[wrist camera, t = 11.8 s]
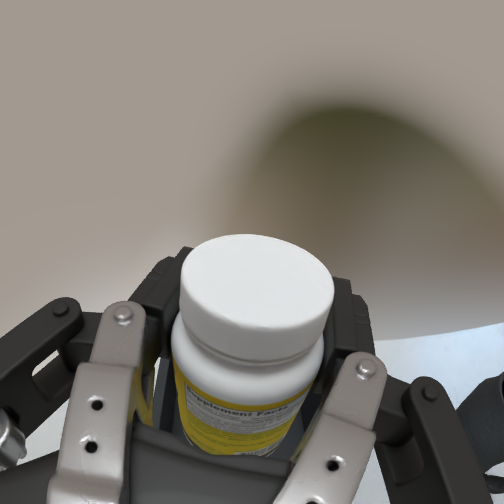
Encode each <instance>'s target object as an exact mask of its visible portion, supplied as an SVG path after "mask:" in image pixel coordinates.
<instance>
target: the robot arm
mask: <svg viewBox="0 0 504 504" xmlns="http://www.w3.org/2000/svg"><path fill="white" fill-rule="evenodd" d="M193 249H195V248H190V247H183V248H182V249H181V250H180V252H179V253H178V254H177V256H176V257H175V258H174V257H167V258H165V259H163V260H161V261H159V262H158V263H157V264H156V265H155V267H154V268H153V269H152V271H151V272H150V273H149V274H148V275H147V276H146V279H144V280H143V281H142V283H141V284H140V285H139V287H138V288H137V289H136V290H135V292H134V293H133V294H132V296H131V297H130V298H129V299H128V301H120V302H116V303H113V304H111V305H110V306H108V307H107V308H106V309H105V311H104V312H103V313H95V312H82V310H81V307H80V304H79V303H78V302H77V301H76V300H75V299H73V298H69V297H62V298H58V299H55V300H53V301H51V302H50V303H48V304H47V305H45V306H44V307H43V308H41V309H40V310H38V311H37V312H35V313H34V314H33V315H31V316H30V317H28V318H27V319H26V320H24V321H23V322H22V323H20V324H19V325H17V326H16V327H15V328H14V329H12V330H11V331H9V332H8V333H7V334H5V335H4V336H3V337H1V338H0V504H351V503H352V501H353V499H354V496H355V494H356V492H357V489H358V487H359V484H360V482H361V479H362V477H363V474H364V471H365V469H366V466H367V463H368V461H369V458H370V455H371V452H372V449H373V446H374V449H375V452H376V455H377V459H378V462H379V465H380V469H381V472H382V475H383V479H384V482H385V486H386V489H387V493H388V496H389V500H390V504H493V501H492V498H491V495H490V492H489V489H488V487H487V484H486V481H485V478H484V476H483V473H482V470H481V468H480V465H479V463H478V460H477V458H476V455H475V453H474V451H473V448H472V446H471V444H470V441H469V439H468V437H467V435H466V432H465V430H464V428H463V426H462V423H461V421H460V419H459V417H458V415H457V413H456V411H455V409H454V407H453V405H452V403H451V401H450V399H449V397H448V395H447V393H446V391H445V389H444V387H443V386H442V385H441V384H440V383H439V382H438V381H437V380H435V379H433V378H431V377H425V376H423V377H418V378H416V379H415V380H414V381H413V382H412V383H411V384H409V383H406V382H403V381H401V380H398V379H396V378H394V377H391V376H390V375H388V374H387V370H386V367H385V365H384V364H383V362H382V361H381V360H380V359H379V358H378V357H376V355H375V348H374V342H373V336H372V329H371V326H370V318H369V312H368V307H367V305H366V303H365V302H364V300H363V299H362V297H361V296H360V295H354V294H352V290H351V284H350V280H347V279H342V278H337V277H332V276H331V277H332V280H333V283H334V298H333V302H332V305H331V308H330V311H329V314H328V317H327V320H326V323H325V327H324V330H323V332H322V333H323V339H324V354H323V360H322V363H321V366H320V369H319V372H318V374H317V376H316V379H315V381H314V383H313V393H317V394H322V398H321V404H320V405H319V407H318V409H317V411H316V413H315V415H314V417H313V419H312V421H311V423H310V425H309V426H308V428H307V430H306V432H305V434H304V436H303V438H302V440H301V441H300V443H299V445H298V447H297V449H296V450H295V452H294V454H293V455H292V457H291V458H290V460H283V459H276V458H270V457H264V456H258V455H253V454H251V455H215V454H209V453H206V452H204V451H202V450H200V449H198V448H197V447H195V446H193V445H191V444H189V443H188V442H186V441H184V440H182V439H181V438H179V437H177V436H176V435H174V434H172V433H169V432H166V431H163V430H160V429H157V428H154V427H153V419H152V408H153V391H154V376H155V367H154V365H155V363H156V361H157V359H158V357H161V358H164V359H167V360H169V358H170V356H171V354H172V351H171V333H172V327H173V324H174V321H175V318H176V316H177V314H178V313H179V311H180V307H179V299H180V287H181V270H182V266H183V263H184V261H185V259H186V257H187V256H188V254H189V253H190V252H191V251H192V250H193ZM56 350H57V351H58V353H59V355H58V356H57V357H56V358H54V359H53V360H52V361H51V362H50V363H48V364H47V365H46V366H45V367H44V368H42V369H41V370H40V371H39V372H38V373H37V374H35V375H34V376H32V372H33V370H34V368H35V367H36V366H37V365H39V364H40V363H41V362H42V361H43V360H45V359H46V358H47V357H48V356H49V355H51V354H52V353H53V352H54V351H56ZM69 398H70V399H69ZM68 399H69V403H68V408H67V412H66V417H65V422H64V427H63V432H62V438H61V443H60V449H59V450H57V451H55V452H52V453H50V454H47V455H45V456H42V457H40V458H37V459H34V460H31V461H29V462H26V463H23V464H20V465H17V461H18V459H22V458H24V457H25V456H26V454H27V450H26V447H25V439H26V438H27V437H28V436H29V435H30V434H31V433H33V432H34V431H35V430H36V429H37V428H38V427H39V426H40V425H41V424H42V423H43V422H44V421H45V420H46V419H47V418H48V417H50V416H51V415H52V414H53V413H54V412H55V411H56V410H57V409H58V408H59V407H60V406H61V405H62V404H63V403H64V402H66V401H67V400H68ZM16 465H17V466H16Z"/></svg>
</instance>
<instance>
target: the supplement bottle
mask: <svg viewBox="0 0 504 504" xmlns="http://www.w3.org/2000/svg"><path fill="white" fill-rule="evenodd" d="M333 298H334V283H333V280H332V277H331V275H330V273H329V272H328V270H327V269H326V267H325V266H324V265H323V264H322V263H321V262H320V261H319V260H318V259H317V258H315V257H314V256H313V255H312V254H310V253H308V252H307V251H305V250H304V249H302V248H300V247H298V246H296V245H293V244H291V243H288V242H285V241H282V240H279V239H275V238H271V237H266V236H261V235H251V234H239V235H228V236H222V237H218V238H214V239H211V240H209V241H207V242H204V243H202V244H201V245H199V246H198V247H196V248H195V249H193V250H192V251H191V252H190V253H189V254H188V256H187V257H186V259H185V261H184V263H183V266H182V270H181V287H180V299H179V307H180V311H179V313H178V314H177V316H176V318H175V321H174V324H173V327H172V333H171V351H172V358H173V368H174V374H175V383H176V390H177V398H178V404H179V411H180V417H181V423H182V427H183V431H184V433H185V436H186V437H187V439H188V441H189V442H190V444H191V445H193V446H195V447H197V448H198V449H200V450H202V451H204V452H206V453H209V454H215V455H251V454H253V455H258V456H264V457H267V456H269V455H270V454H271V453H273V452H274V451H275V450H276V449H277V448H278V446H279V445H280V444H281V442H282V441H283V439H284V438H285V436H286V434H287V432H288V430H289V428H290V426H291V424H292V422H293V421H294V419H295V417H296V415H297V413H298V411H299V409H300V407H301V405H302V404H303V402H304V400H305V398H306V396H307V394H308V392H309V390H310V388H311V386H312V384H313V383H314V381H315V379H316V376H317V374H318V372H319V369H320V366H321V363H322V360H323V354H324V339H323V333H322V332H323V330H324V327H325V323H326V320H327V317H328V314H329V311H330V308H331V305H332V302H333Z"/></svg>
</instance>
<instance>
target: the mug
mask: <svg viewBox="0 0 504 504" xmlns="http://www.w3.org/2000/svg"><path fill="white" fill-rule="evenodd" d="M456 413H457V415H458V417H459V419H460V421H461V423H462V426H463V428H464V430H465V432H466V435H467V437H468V439H469V441H470V444H471V446H472V448H473V451H474V453H475V455H476V458H477V460H478V463H479V465H480V468H481V470H482V473H483V476H484V478H485V481H486V484H487V487H488V489H489V492H490V493H492V494H501V493H504V477H499V476H494V475H487V474H485V472H486V471H488V470H489V469H490V468H492V467H493V466H495V465H497V464H500V463H502V462H504V372H503V373H501V374H500V375H499V376H496V377H492V378H488V379H485V380H484V381H483V382H481V383H480V384H479V385H478V386H477V387H476V388H475V389H474V390H473V392H472V393H471V394H470V395H469V396H468V397H467V398H466V399H465V400H464V401H463V402H462V403H461V405H460V406H459V407H458V408H457V409H456Z"/></svg>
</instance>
